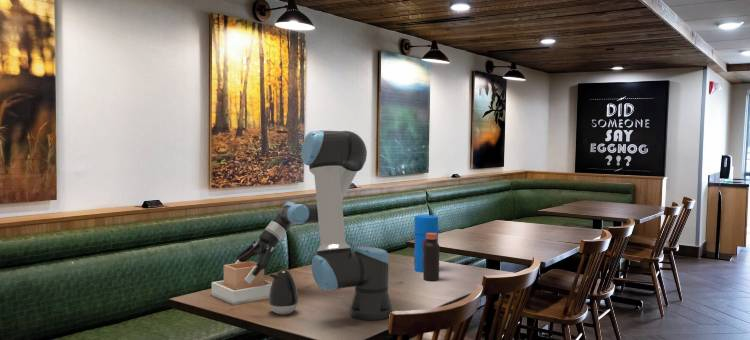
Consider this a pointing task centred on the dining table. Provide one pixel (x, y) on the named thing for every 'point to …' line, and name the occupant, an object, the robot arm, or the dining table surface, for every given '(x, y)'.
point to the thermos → (423, 237)
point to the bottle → (431, 258)
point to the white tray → (241, 293)
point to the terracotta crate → (241, 276)
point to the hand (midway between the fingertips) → (238, 278)
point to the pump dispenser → (283, 293)
